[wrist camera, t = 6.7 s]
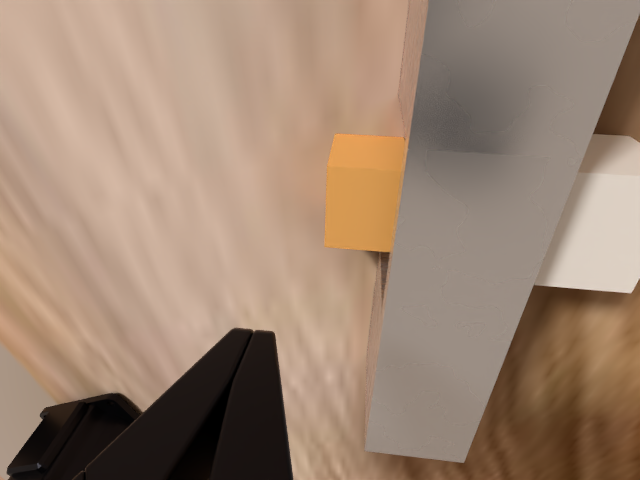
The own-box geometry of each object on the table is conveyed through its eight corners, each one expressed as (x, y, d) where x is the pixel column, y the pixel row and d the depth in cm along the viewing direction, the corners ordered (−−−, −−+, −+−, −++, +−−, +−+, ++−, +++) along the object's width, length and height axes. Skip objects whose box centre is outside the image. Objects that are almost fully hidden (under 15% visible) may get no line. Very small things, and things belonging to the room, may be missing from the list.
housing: (366, 354, 21) (364, 450, 17) (433, -195, 10) (473, -309, 6) (446, 362, 21) (464, 463, 17) (602, -196, 10) (770, -319, 6)
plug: (331, 216, 17) (322, 267, 14) (335, 119, 15) (325, 156, 12) (585, 235, 16) (631, 293, 13) (629, 135, 14) (695, 179, 11)
